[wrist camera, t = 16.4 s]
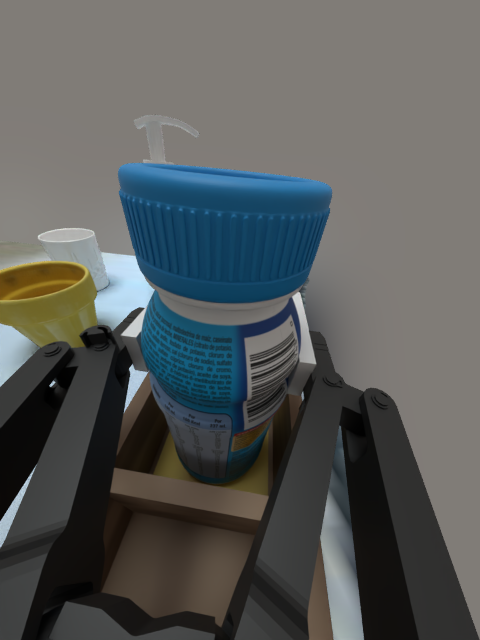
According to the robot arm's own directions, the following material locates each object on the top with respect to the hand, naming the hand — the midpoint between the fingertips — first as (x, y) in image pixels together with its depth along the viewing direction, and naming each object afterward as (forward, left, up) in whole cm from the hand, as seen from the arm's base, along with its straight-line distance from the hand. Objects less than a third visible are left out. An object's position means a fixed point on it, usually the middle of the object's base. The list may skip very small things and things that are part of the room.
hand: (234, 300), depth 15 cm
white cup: (-32, +19, -14) cm, 40 cm away
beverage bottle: (0, -5, -12) cm, 13 cm away
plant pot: (-24, +5, -14) cm, 28 cm away
